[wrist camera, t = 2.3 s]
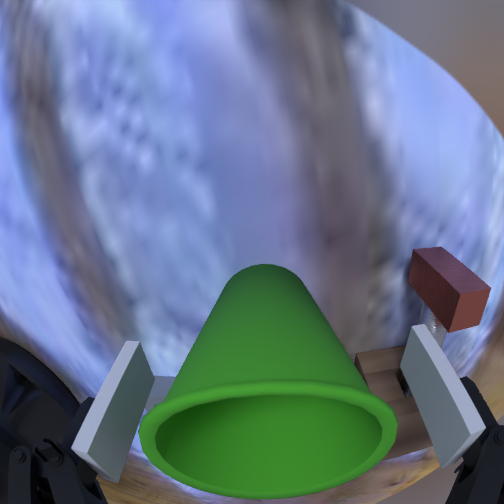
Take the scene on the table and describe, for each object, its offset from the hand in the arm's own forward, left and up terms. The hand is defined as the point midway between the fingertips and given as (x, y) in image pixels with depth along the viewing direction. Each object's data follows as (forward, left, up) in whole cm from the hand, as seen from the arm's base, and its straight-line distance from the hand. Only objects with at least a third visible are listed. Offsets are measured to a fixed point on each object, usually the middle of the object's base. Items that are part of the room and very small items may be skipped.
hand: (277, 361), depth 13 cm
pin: (+10, -2, -4) cm, 11 cm away
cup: (0, 0, -6) cm, 6 cm away
